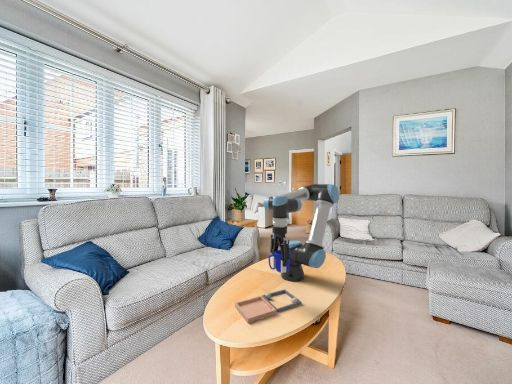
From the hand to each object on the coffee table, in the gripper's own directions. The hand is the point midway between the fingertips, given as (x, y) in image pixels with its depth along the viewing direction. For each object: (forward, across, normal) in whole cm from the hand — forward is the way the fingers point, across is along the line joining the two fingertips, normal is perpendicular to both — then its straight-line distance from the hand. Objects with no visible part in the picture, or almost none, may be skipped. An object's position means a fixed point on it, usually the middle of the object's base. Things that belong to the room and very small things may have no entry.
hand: (279, 269), depth 119 cm
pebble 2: (+17, +5, +6) cm, 19 cm away
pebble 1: (+17, -6, -3) cm, 18 cm away
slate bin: (+17, 0, +2) cm, 17 cm away
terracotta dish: (+17, +1, -14) cm, 23 cm away
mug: (+1, 0, 0) cm, 1 cm away
